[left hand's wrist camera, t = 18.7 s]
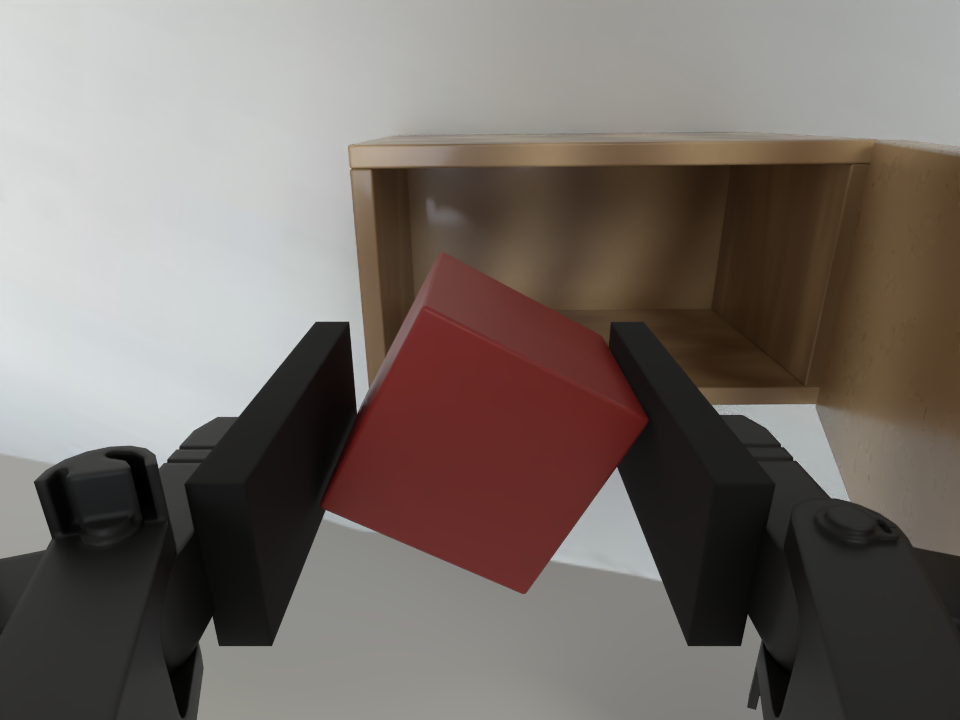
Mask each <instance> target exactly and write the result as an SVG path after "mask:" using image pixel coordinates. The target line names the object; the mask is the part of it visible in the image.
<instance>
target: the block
mask: <svg viewBox="0 0 960 720" xmlns="http://www.w3.org/2000/svg"><path fill="white" fill-rule="evenodd" d="M648 421H649V419H648V417H647V415H646V413H645V412H644V410H643V408H642V406H641V404H640V403H639V401H638V399H637V397H636V395H635V394H634V392H633V390H632V388H631V387H630V385H629V383H628V381H627V379H626V378H625V376H624V374H623V372H622V371H621V369H620V367H619V365H618V363H617V362H616V360H615V358H614V356H613V354H612V353H611V351H610V349H609V347H608V346H607V344H606V342H605V340H604V338H603V337H602V336H601V335H599V334H597V333H596V332H594V331H592V330H590V329H588V328H586V327H584V326H582V325H580V324H578V323H577V322H575V321H573V320H571V319H569V318H567V317H565V316H563V315H561V314H559V313H558V312H556V311H554V310H552V309H550V308H548V307H546V306H544V305H542V304H540V303H539V302H537V301H535V300H533V299H531V298H529V297H527V296H525V295H523V294H521V293H520V292H518V291H516V290H514V289H512V288H510V287H508V286H506V285H504V284H502V283H501V282H499V281H497V280H495V279H493V278H491V277H489V276H487V275H485V274H483V273H482V272H480V271H478V270H476V269H474V268H472V267H470V266H468V265H466V264H464V263H463V262H461V261H459V260H457V259H455V258H453V257H451V256H449V255H447V254H445V253H443V252H440V253H439V254H438V256H437V258H436V260H435V261H434V263H433V265H432V267H431V269H430V271H429V273H428V275H427V277H426V279H425V281H424V283H423V285H422V287H421V289H420V291H419V293H418V295H417V297H416V299H415V301H414V303H413V304H412V306H411V308H410V310H409V312H408V314H407V316H406V318H405V320H404V322H403V324H402V326H401V328H400V330H399V332H398V334H397V336H396V338H395V340H394V342H393V344H392V346H391V347H390V349H389V351H388V353H387V355H386V357H385V359H384V361H383V363H382V365H381V367H380V369H379V371H378V373H377V375H376V377H375V379H374V381H373V383H372V385H371V387H370V389H369V390H368V392H367V394H366V396H365V398H364V400H363V402H362V405H361V407H360V409H359V412H358V414H357V416H356V419H355V421H354V423H353V426H352V428H351V431H350V433H349V435H348V438H347V440H346V442H345V445H344V447H343V449H342V452H341V454H340V457H339V459H338V461H337V464H336V466H335V468H334V471H333V473H332V475H331V478H330V480H329V483H328V485H327V487H326V490H325V492H324V494H323V497H322V499H321V501H320V507H321V508H323V509H325V510H327V511H330V512H332V513H334V514H337V515H339V516H341V517H344V518H346V519H348V520H351V521H353V522H355V523H358V524H360V525H362V526H365V527H367V528H369V529H372V530H374V531H376V532H379V533H381V534H383V535H386V536H388V537H390V538H393V539H395V540H398V541H400V542H402V543H405V544H407V545H409V546H412V547H414V548H416V549H419V550H421V551H423V552H426V553H428V554H430V555H433V556H435V557H437V558H440V559H442V560H444V561H447V562H449V563H452V564H454V565H456V566H458V567H461V568H463V569H465V570H468V571H470V572H472V573H475V574H477V575H480V576H482V577H484V578H487V579H489V580H491V581H494V582H496V583H498V584H501V585H503V586H505V587H508V588H510V589H512V590H515V591H517V592H519V593H522V594H525V593H527V591H528V590H529V588H530V587H531V586H532V584H533V583H534V581H535V580H536V579H537V577H538V576H539V574H540V573H541V572H542V570H543V569H544V567H545V566H546V565H547V563H548V562H549V561H550V559H551V558H552V556H553V555H554V554H555V552H556V551H557V549H558V548H559V547H560V545H561V544H562V542H563V541H564V540H565V538H566V537H567V535H568V534H569V533H570V531H571V530H572V528H573V527H574V526H575V524H576V523H577V521H578V520H579V519H580V517H581V516H582V515H583V513H584V512H585V510H586V509H587V508H588V506H589V505H590V503H591V502H592V501H593V499H594V498H595V496H596V495H597V494H598V492H599V491H600V489H601V488H602V487H603V485H604V484H605V482H606V481H607V480H608V478H609V477H610V476H611V474H612V473H613V471H614V470H615V469H616V467H617V466H618V464H619V463H620V462H621V460H622V459H623V457H624V456H625V455H626V453H627V452H628V450H629V449H630V448H631V446H632V445H633V443H634V442H635V441H636V439H637V438H638V437H639V435H640V434H641V432H642V431H643V430H644V428H645V427H646V425H647V424H648Z"/></svg>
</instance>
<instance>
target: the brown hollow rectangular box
mask: <svg viewBox="0 0 960 720" xmlns="http://www.w3.org/2000/svg"><path fill="white" fill-rule="evenodd" d="M875 141H877V139H863V138H844V137H826V136H807V135H789V134H770V133H752V132H699V133H604V134H509V135H414V136H390V137H385V138H381V139H376V140H371V141H366V142H361V143H356V144H352V145H349V146H348V153H349V164H350V168H352V169H351V170H350V176H351V188H352V199H353V211H354V222H355V234H356V245H357V257H358V268H359V280H360V291H361V303H362V314H363V326H364V337H365V349H366V360H367V372H368V383H369V389H370V387H371V385H372V383H373V381H374V379H375V377H376V375H377V373H378V371H379V369H380V367H381V365H382V363H383V361H384V359H385V357H386V355H387V353H388V351H389V349H390V347H391V346H392V344H393V342H394V340H395V338H396V336H397V334H398V332H399V330H400V328H401V326H402V324H403V322H404V320H405V318H406V316H407V314H408V312H409V310H410V308H411V306H412V304H413V303H414V301H415V299H416V297H417V295H418V293H419V291H420V289H421V287H422V285H423V283H424V281H425V279H426V277H427V275H428V273H429V271H430V269H431V267H432V265H433V263H434V261H435V260H436V258H437V256H438V254H439V253H440V252H443V253H445V254H447V255H449V256H451V257H453V258H455V259H457V260H459V261H461V262H463V263H464V264H466V265H468V266H470V267H472V268H474V269H476V270H478V271H480V272H482V273H483V274H485V275H487V276H489V277H491V278H493V279H495V280H497V281H499V282H501V283H502V284H504V285H506V286H508V287H510V288H512V289H514V290H516V291H518V292H520V293H521V294H523V295H525V296H527V297H529V298H531V299H533V300H535V301H537V302H539V303H540V304H542V305H544V306H546V307H548V308H550V309H552V310H554V311H556V312H558V313H559V314H561V315H563V316H565V317H567V318H569V319H571V320H573V321H575V322H577V323H578V324H580V325H582V326H584V327H586V328H588V329H590V330H592V331H594V332H596V333H597V334H599V335H601V336H602V337H603V338H604V340H605V342H606V344H607V346H608V347H609V337H610V325H611V322H645V324H646V325H647V326H648V327H649V329H650V330H651V331H652V332H653V334H654V335H655V336H656V337H657V338H658V340H659V341H660V342H661V343H662V345H663V346H664V347H665V348H666V350H667V351H668V352H669V353H670V355H671V356H672V357H673V358H674V359H675V361H676V362H677V363H678V364H679V366H680V367H681V368H682V369H683V371H684V372H685V373H686V374H687V375H688V377H689V378H690V379H691V380H692V382H693V383H694V384H695V385H696V387H697V388H698V389H699V390H700V391H701V393H702V394H703V395H704V396H705V398H706V399H707V400H708V401H709V403H710V404H711V405H741V404H816V403H817V399H818V394H819V390H820V385H821V381H822V376H823V372H824V367H825V363H826V358H827V354H828V349H829V345H830V340H831V336H832V331H833V327H834V322H835V318H836V313H837V309H838V304H839V300H840V295H841V291H842V286H843V282H844V277H845V273H846V268H847V264H848V259H849V255H850V250H851V246H852V241H853V237H854V232H855V228H856V223H857V219H858V214H859V210H860V205H861V201H862V196H863V192H864V187H865V183H866V178H867V174H868V169H869V165H870V160H871V156H872V151H873V147H874V143H875Z"/></svg>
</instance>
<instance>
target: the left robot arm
mask: <svg viewBox="0 0 960 720" xmlns="http://www.w3.org/2000/svg"><path fill="white" fill-rule="evenodd" d="M609 349H610V351H611V353H612V354H613V356H614V358H615V360H616V362H617V363H618V365H619V367H620V369H621V371H622V372H623V374H624V376H625V378H626V379H627V381H628V383H629V385H630V387H631V388H632V390H633V392H634V394H635V395H636V397H637V399H638V401H639V403H640V404H641V406H642V408H643V410H644V412H645V413H646V415H647V417H648V419H649V421H648V424H647V425H646V427H645V428H644V430H643V431H642V432H641V434H640V435H639V437H638V438H637V439H636V441H635V442H634V443H633V445H632V446H631V448H630V449H629V450H628V452H627V453H626V455H625V456H624V457H623V459H622V460H621V462H620V463H619V464H618V466H617V468H618V470H619V473H620V475H621V478H622V480H623V483H624V485H625V488H626V490H627V493H628V495H629V498H630V500H631V503H632V506H633V508H634V511H635V513H636V516H637V518H638V521H639V523H640V526H641V528H642V531H643V533H644V536H645V538H646V541H647V543H648V546H649V549H650V551H651V554H652V556H653V559H654V561H655V564H656V566H657V569H658V571H659V574H660V576H661V579H662V581H663V584H664V586H665V589H666V592H667V594H668V597H669V599H670V602H671V604H672V607H673V609H674V612H675V614H676V617H677V619H678V622H679V624H680V627H681V629H682V632H683V635H684V637H685V640H686V642H687V645H688V646H741V643H742V638H743V634H744V629H745V624H746V620H747V615H749V617H750V619H751V620H752V622H753V624H754V626H755V628H756V630H757V631H758V633H759V635H760V637H761V639H762V642H761V646H760V650H759V655H758V659H757V663H756V667H755V672H754V676H753V680H752V685H751V689H750V693H749V699H748V706H747V707H748V708H751V709H755V710H756V707H757V703H758V699H759V696H761V704H762V711H763V718H764V720H960V556H956V555H951V554H946V553H941V552H936V551H930V550H925V549H920V548H916V547H913V546H912V544H911V542H910V540H909V539H908V537H907V536H906V535H905V534H904V532H903V531H902V530H901V529H900V528H899V527H898V525H896V524H895V523H893V522H892V521H890V520H889V519H887V518H886V517H884V516H883V515H881V514H880V513H878V512H876V511H873V510H871V509H869V508H866V507H864V506H862V505H859V504H856V503H852V502H848V501H844V500H840V499H833V498H830V497H829V496H828V495H827V494H826V492H825V491H824V490H823V489H822V488H821V487H820V486H819V485H818V484H817V483H816V482H815V481H814V480H813V478H812V477H811V476H810V475H809V474H808V473H807V472H806V471H805V470H804V469H803V468H802V467H801V465H800V464H799V463H798V462H797V461H793V457H792V456H791V455H790V454H789V453H788V451H787V450H786V449H785V448H784V447H781V444H780V443H779V442H778V441H777V440H776V439H775V437H774V436H773V435H772V434H771V433H770V432H769V431H768V430H767V429H766V428H764V427H763V426H761V425H759V424H757V423H756V422H754V421H752V420H750V419H749V418H747V417H745V416H743V415H719V414H718V412H717V411H716V410H715V409H714V408H713V406H712V405H711V404H710V403H709V401H708V400H707V399H706V398H705V396H704V395H703V394H702V393H701V391H700V390H699V389H698V388H697V387H696V385H695V384H694V383H693V382H692V380H691V379H690V378H689V377H688V375H687V374H686V373H685V372H684V371H683V369H682V368H681V367H680V366H679V364H678V363H677V362H676V361H675V359H674V358H673V357H672V356H671V355H670V353H669V352H668V351H667V350H666V348H665V347H664V346H663V345H662V343H661V342H660V341H659V340H658V338H657V337H656V336H655V335H654V334H653V332H652V331H651V330H650V329H649V327H648V326H647V325H646V324H645V322H611V325H610V337H609ZM356 416H357V409H356V397H355V385H354V373H353V362H352V350H351V338H350V326H349V322H315V324H314V325H313V326H312V327H311V329H310V330H309V331H308V332H307V333H306V335H305V336H304V337H303V338H302V340H301V341H300V342H299V343H298V345H297V346H296V347H295V348H294V349H293V351H292V352H291V353H290V354H289V356H288V357H287V358H286V359H285V361H284V362H283V363H282V364H281V365H280V367H279V368H278V369H277V370H276V372H275V373H274V374H273V375H272V377H271V378H270V379H269V380H268V382H267V383H266V384H265V385H264V386H263V388H262V389H261V390H260V391H259V393H258V394H257V395H256V396H255V398H254V399H253V400H252V401H251V402H250V404H249V405H248V406H247V407H246V409H245V410H244V411H243V412H242V414H241V415H240V416H239V417H217V418H215V419H214V420H212V421H210V422H208V423H207V424H205V425H203V426H201V427H200V428H198V429H196V430H194V431H193V432H192V433H191V434H190V436H189V437H188V438H187V439H186V440H185V441H184V442H183V443H182V444H181V445H180V446H179V447H180V448H179V450H176V451H175V452H174V453H173V454H172V455H171V456H170V457H169V458H168V460H167V463H164V464H163V465H162V466H161V467H160V468H159V469H158V464H157V460H156V456H155V454H153V453H152V452H150V451H149V450H148V449H146V448H140V447H135V446H115V447H106V448H102V449H97V450H92V451H87V452H85V453H82V454H79V455H76V456H74V457H71V458H68V459H65V460H63V461H62V462H60V463H58V464H56V465H54V466H53V467H51V468H49V469H47V470H46V471H45V472H44V473H43V474H42V475H41V476H39V477H38V478H37V479H36V480H35V481H34V484H35V487H36V490H37V493H38V496H39V499H40V502H41V505H42V509H43V512H44V515H45V518H46V521H47V524H48V527H49V530H50V533H51V536H52V540H51V542H50V544H49V545H48V547H47V549H46V550H43V551H39V552H34V553H29V554H24V555H18V556H13V557H9V558H3V559H0V720H197V713H198V705H199V698H200V690H201V683H202V675H203V661H202V654H201V650H200V646H199V640H200V638H201V636H202V635H203V633H204V631H205V629H206V627H207V625H208V623H209V621H210V620H211V618H212V616H213V620H214V625H215V630H216V634H217V639H218V643H219V646H272V644H273V642H274V639H275V637H276V634H277V632H278V629H279V627H280V624H281V622H282V619H283V616H284V614H285V611H286V609H287V606H288V604H289V601H290V599H291V596H292V594H293V591H294V589H295V586H296V584H297V581H298V579H299V576H300V574H301V571H302V568H303V566H304V563H305V561H306V558H307V556H308V553H309V551H310V548H311V546H312V543H313V541H314V538H315V536H316V533H317V531H318V528H319V525H320V523H321V520H322V518H323V515H324V513H325V509H323V508H321V507H320V501H321V499H322V497H323V494H324V492H325V490H326V487H327V485H328V483H329V480H330V478H331V475H332V473H333V471H334V468H335V466H336V464H337V461H338V459H339V457H340V454H341V452H342V449H343V447H344V445H345V442H346V440H347V438H348V435H349V433H350V431H351V428H352V426H353V423H354V421H355V419H356Z"/></svg>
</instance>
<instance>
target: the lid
mask: <svg viewBox="0 0 960 720" xmlns="http://www.w3.org/2000/svg"><path fill="white" fill-rule="evenodd" d="M816 410H817V413H818V416H819V418H820V421H821V424H822V426H823V429H824V432H825V434H826V437H827V440H828V442H829V445H830V448H831V450H832V453H833V456H834V459H835V461H836V464H837V467H838V469H839V472H840V475H841V477H842V480H843V483H844V485H845V488H846V491H847V493H848V496H849V499H850V501H851V502H852V503H856V504H859V505H862V506H864V507H866V508H869V509H871V510H873V511H876V512H878V513H880V514H881V515H883V516H884V517H886V518H887V519H889V520H890V521H892V522H893V523H895V524H896V525H898V527H899V528H900V529H901V530H902V531H903V532H904V534H905V535H906V536H907V537H908V539H909V540H910V542H911V544H912V546H913V547H916V548H920V549H925V550H930V551H936V552H941V553H946V554H951V555H956V556H960V147H956V146H948V145H940V144H932V143H924V142H916V141H908V140H877V141H875V143H874V147H873V151H872V156H871V160H870V165H869V169H868V174H867V178H866V183H865V187H864V192H863V196H862V201H861V205H860V210H859V214H858V219H857V223H856V228H855V232H854V237H853V241H852V246H851V250H850V255H849V259H848V264H847V268H846V273H845V277H844V282H843V286H842V291H841V295H840V300H839V304H838V309H837V313H836V318H835V322H834V327H833V331H832V336H831V340H830V345H829V349H828V354H827V358H826V363H825V367H824V372H823V376H822V381H821V385H820V390H819V394H818V399H817V403H816Z"/></svg>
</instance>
